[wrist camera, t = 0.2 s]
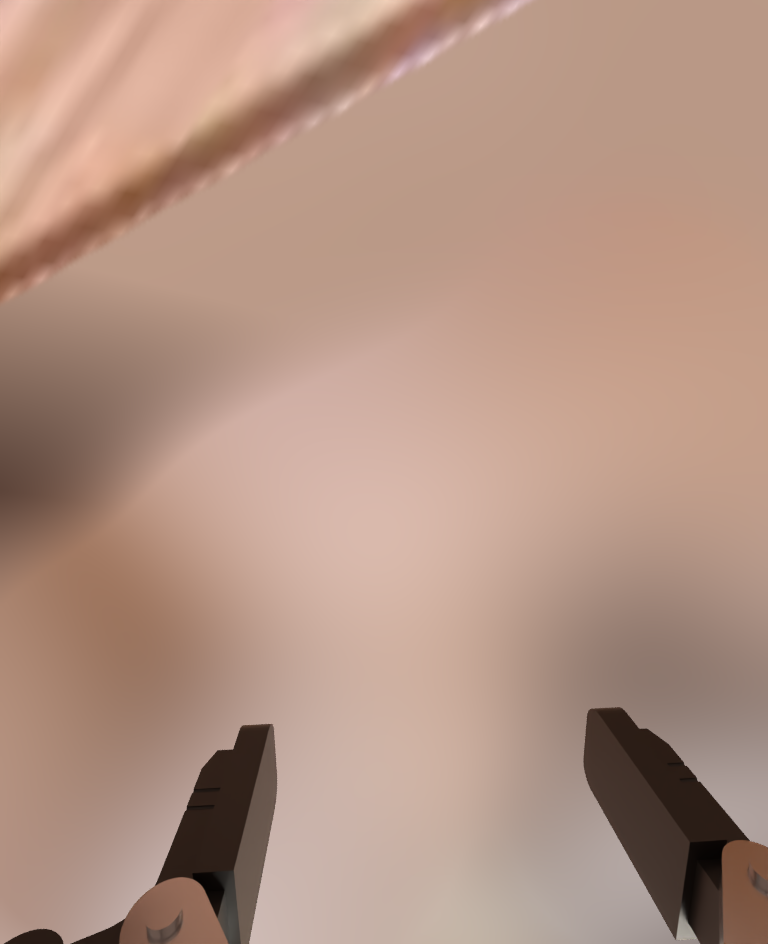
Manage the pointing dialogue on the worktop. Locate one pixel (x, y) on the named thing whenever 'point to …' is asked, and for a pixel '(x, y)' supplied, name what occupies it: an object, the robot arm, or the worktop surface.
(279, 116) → the worktop surface
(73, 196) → the worktop surface
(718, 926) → the robot arm
